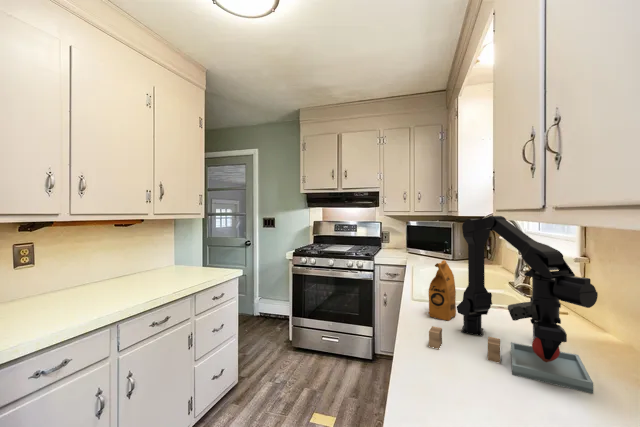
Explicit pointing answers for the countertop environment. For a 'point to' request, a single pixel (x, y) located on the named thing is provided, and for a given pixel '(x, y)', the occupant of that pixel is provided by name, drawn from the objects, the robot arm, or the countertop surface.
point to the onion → (539, 350)
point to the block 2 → (494, 349)
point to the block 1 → (435, 337)
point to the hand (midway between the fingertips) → (545, 354)
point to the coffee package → (442, 293)
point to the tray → (551, 368)
